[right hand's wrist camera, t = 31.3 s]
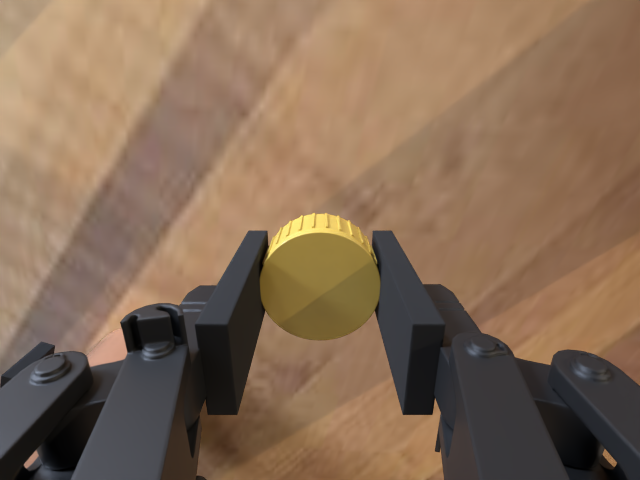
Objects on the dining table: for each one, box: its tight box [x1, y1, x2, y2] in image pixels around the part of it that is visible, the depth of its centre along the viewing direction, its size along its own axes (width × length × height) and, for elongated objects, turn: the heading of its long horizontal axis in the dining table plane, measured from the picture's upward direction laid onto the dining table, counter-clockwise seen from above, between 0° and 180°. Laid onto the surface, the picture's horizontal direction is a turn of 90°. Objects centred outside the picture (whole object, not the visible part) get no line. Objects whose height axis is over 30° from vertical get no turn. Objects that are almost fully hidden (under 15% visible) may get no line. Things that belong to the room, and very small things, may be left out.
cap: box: [260, 213, 381, 340], centre depth 13 cm, size 4×4×2 cm
